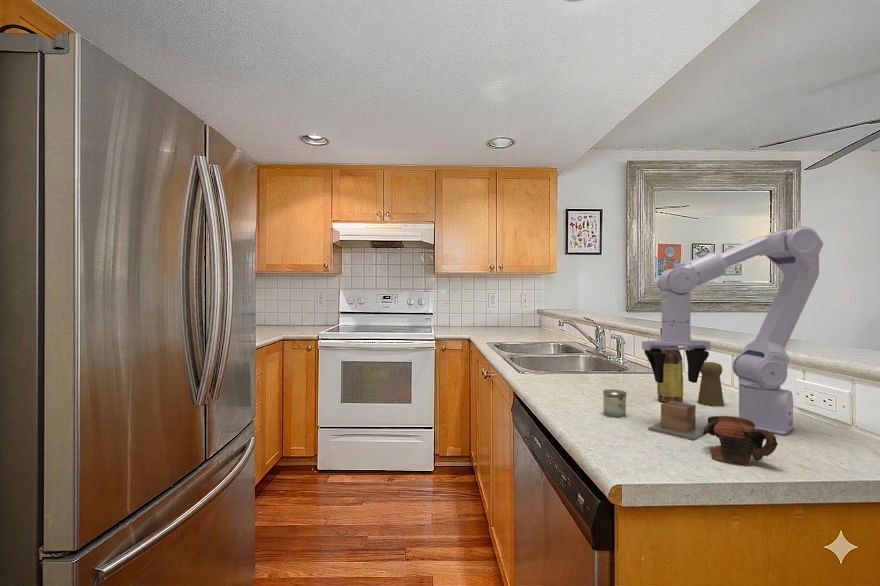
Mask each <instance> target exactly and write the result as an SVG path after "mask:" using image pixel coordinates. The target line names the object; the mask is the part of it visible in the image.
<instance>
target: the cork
mask: <svg viewBox="0 0 880 586" xmlns="http://www.w3.org/2000/svg"><path fill="white" fill-rule="evenodd" d="M722 373H723V365H722V364H720V363H718V362H713V361H705V362H704V364H703V366H702V368H701V370H700V374H701V378H700V385H699V391H698V398H697V403H698V404H699V403H700V404H699V405H702V404H703V405H702V406H706V405H709V406H708V407H713V406H722V407H724V406H725V403H724V396H723V395H724V394H723V388H722V382H721V375H722ZM723 405H724V406H723Z"/></svg>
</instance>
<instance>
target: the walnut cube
mask: <svg viewBox="0 0 880 586" xmlns="http://www.w3.org/2000/svg"><path fill="white" fill-rule="evenodd" d="M696 410H697V409H696V404H691V403H685V402H682V403H681V402H676V401H669V402H666V403H664V402H662V403H661V404H660V422H661V428H665V429H669V430H674V431H678V432H682V433H688V432H690V431H692V430H694V429H695V426H696Z"/></svg>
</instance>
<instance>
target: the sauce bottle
mask: <svg viewBox="0 0 880 586" xmlns="http://www.w3.org/2000/svg"><path fill="white" fill-rule="evenodd" d="M660 335H661V338H660V340H662V327H661V328H660ZM670 347H679V346H670ZM661 351H662V353H665V354H666V357H665V361H664V369H663V372H664V379H663V383H658V382H656V384H657V385H656V386H657V389H656V390H657V400H658V401H659V402H660V403H661V402H662V403H666V402H669V401H676V402H681V403H683V402H684V401H683V400H684V398H683V397H684V376H683V375H684V374H683V373H684V372H683V371H684V369H683V357H682V354H681V350H661Z"/></svg>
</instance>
